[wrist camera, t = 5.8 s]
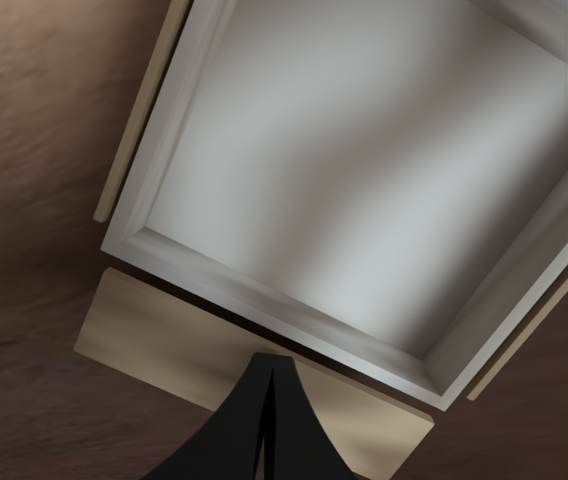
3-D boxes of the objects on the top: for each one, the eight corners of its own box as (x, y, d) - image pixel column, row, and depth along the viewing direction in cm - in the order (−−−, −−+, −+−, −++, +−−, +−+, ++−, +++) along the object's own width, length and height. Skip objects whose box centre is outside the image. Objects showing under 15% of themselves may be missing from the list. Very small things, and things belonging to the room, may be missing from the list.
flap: (434, 424, 13) (384, 485, 14) (430, 415, 14) (382, 475, 14) (104, 271, 12) (72, 350, 13) (109, 266, 12) (79, 344, 13)
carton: (645, 100, 13) (736, 94, 10) (431, 372, 16) (457, 419, 14) (264, -144, 11) (254, -228, 8) (121, 222, 15) (83, 244, 12)
